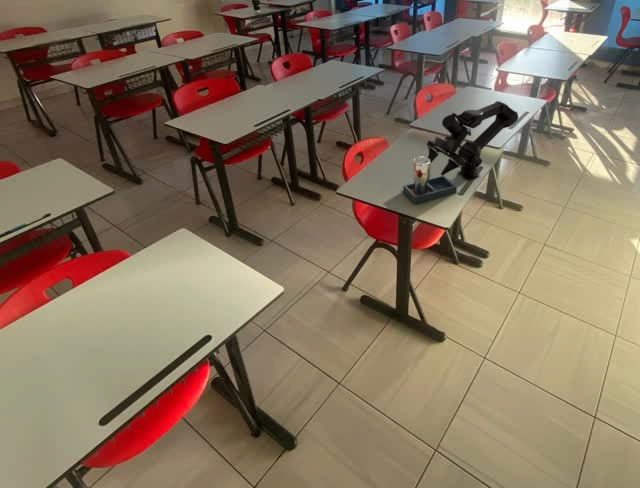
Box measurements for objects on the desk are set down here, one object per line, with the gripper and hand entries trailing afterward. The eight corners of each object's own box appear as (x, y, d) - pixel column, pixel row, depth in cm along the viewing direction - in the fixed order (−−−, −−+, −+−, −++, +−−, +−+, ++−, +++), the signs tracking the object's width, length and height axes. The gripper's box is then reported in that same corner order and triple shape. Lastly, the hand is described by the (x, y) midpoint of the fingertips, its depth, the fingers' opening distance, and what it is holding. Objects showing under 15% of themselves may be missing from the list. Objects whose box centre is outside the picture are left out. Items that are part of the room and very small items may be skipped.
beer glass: (427, 187, 174) (429, 156, 166) (430, 197, 168) (432, 164, 160) (410, 188, 173) (412, 156, 166) (413, 197, 167) (414, 165, 160)
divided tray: (442, 181, 180) (443, 175, 178) (455, 192, 172) (456, 186, 171) (403, 191, 173) (403, 185, 171) (414, 204, 165) (415, 197, 164)
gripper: (431, 121, 170) (409, 152, 170) (463, 138, 157) (439, 171, 157) (444, 134, 178) (422, 164, 178) (475, 150, 165) (453, 183, 165)
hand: (433, 170), depth 169 cm, fingers open, 9 cm apart
